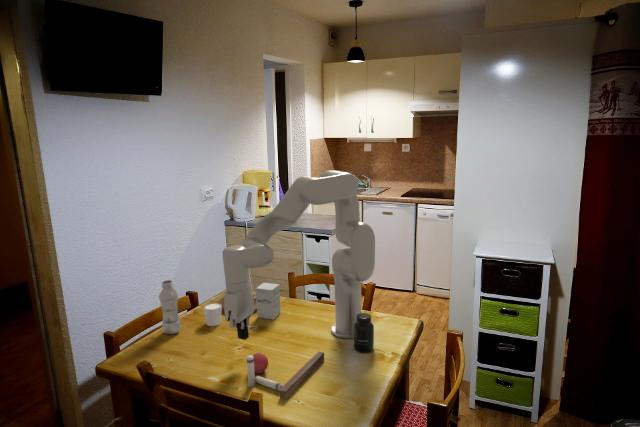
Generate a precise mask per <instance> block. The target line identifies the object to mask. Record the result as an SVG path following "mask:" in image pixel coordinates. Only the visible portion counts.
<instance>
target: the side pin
mask: <svg viewBox="0 0 640 427" xmlns="http://www.w3.org/2000/svg"><path fill="white" fill-rule="evenodd" d="M252 355H253V354H252ZM252 355H251V354H250V355H249V354H248V355H247V356H246V368H247V369H246V370H247V381H248V382H247V383H248V384H247V385H248V387H249V388H253V387H255V386H256V382H255V378H256V376H255V374H256V373H254V357H253V356H252Z"/></svg>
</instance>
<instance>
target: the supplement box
mask: <svg viewBox="0 0 640 427" xmlns="http://www.w3.org/2000/svg"><path fill="white" fill-rule="evenodd" d="M280 288H281V287H280V284H278V283H270V282H262V283H261V284H259V285H258V286H257V287H256V288H255V294H256V299H257V312H256V315H257V316H256V317H257V318H260V319H266V320H267V319H268V320H272V321H273V320H275V319H276V318H277V317H278V316H279V315H280V314H281V289H280Z"/></svg>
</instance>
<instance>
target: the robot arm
mask: <svg viewBox="0 0 640 427" xmlns="http://www.w3.org/2000/svg"><path fill="white" fill-rule="evenodd" d="M358 190H359V180H358V178H357V177H356V176H355V175H354V174H353V173H351V172H346V171H341V170H335V169H334V170H331V169H330V170H325V171H323V172H322V173H321V174H320V176H319V177H313V176H305V175H303V176H300V177H297V178H296V179H295V180H294V181H293V183H292V184H291V185H290V187H289V188H288V190H287V191H286V192H285V194H284V195H283V196H282V197H281V199H280V200H279V202H278V203H277V204H276V206H274V208H273V209H272V210H271V212H269V213H267V214H266V215H265V216H264V217H263V218H262V219H260V220H258V222H256V223H255V225H253V227H252V228H251V230H250V231H249V232H248V234H247V235H246V236H245V238H244V239H243V241H242V242H241V245H239V244H238V245H237V244H235V245H230V246H227V247H225V248H224V249H223V250H222V253H221V254H222V260H223V261H222V262H223V271H224V281H225V282H224V283H225V290H226V291H225V292H224V297H225V299H224V310H225V314H224V320H225V322H229V328H233V329H234V328H236V329H237V330H236V332H237V339H240V340H244V341H246V340H247V339H249V338H250V334H249V325H250V319H251V317H252V316H253V314H254V313H253V312H254V299H253V294H254V293H253V289H252V287H251V283H250V282H251V281H250V280H251V279H250V273H249V272H250V271H249V269H257V268H266V267H267V266H269V265H270V264H272V262H273V260H274V259H275V254H274V253H275V252H274V251H273V249H272V248H271V246H270V245H268V244H267V243H268V242H269V241H270V240H271V238H273V237H274V236H275V235H276V234H277V233H279V232H281V231H283V230H287V229H290V228H292V227H294V226H295V225H296V224H297V223H298V222H299V220H300V218H301V217H302V216H303V214H304V212H306V210H307V209H308V207H309V206H310V205H315V206H318V205H319V206H320V205H325V204H331V203H332V204H334V211H335V212H334V213H335V220H334V221H335V229H334V230H335V232H334V233H335V238H336V240H337V241H338V242H339V243H340V244H342V245H344V246H343V247H340V248H338V249H336V250H335V251H334V252H333V255H332V257H331V267H332V273H333V280H334V312H335V313H334V314H335V317H334V318H335V321H334V322H335V323H334V324H332V326H331V333H332V334H333V335H334V336H335V337H337V338H342V339H354V324H355V322H357V315H358V314H360V313H362V283H361V282H366V281H368V280H369V279H371V277H372V275H373V274H374V270H375V265H376V264H375V263H376V236H375V232H374V230H373V228H372V227H371V225H369V224H368V223H366V222H363V221H361V217H360V201H359V198H358V195H357V192H358ZM345 246H346V247H345Z"/></svg>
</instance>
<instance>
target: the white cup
mask: <svg viewBox="0 0 640 427" xmlns="http://www.w3.org/2000/svg"><path fill="white" fill-rule="evenodd" d="M221 310H222V306H221V304H218V303H217V302H216V303H208V304H206V305H204V306H203V312H204V318H205V323H206V326H208V327H217V326H219V325H221V324H222V313H221Z"/></svg>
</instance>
